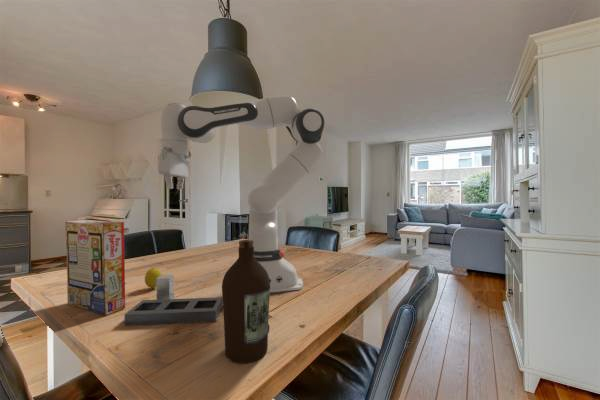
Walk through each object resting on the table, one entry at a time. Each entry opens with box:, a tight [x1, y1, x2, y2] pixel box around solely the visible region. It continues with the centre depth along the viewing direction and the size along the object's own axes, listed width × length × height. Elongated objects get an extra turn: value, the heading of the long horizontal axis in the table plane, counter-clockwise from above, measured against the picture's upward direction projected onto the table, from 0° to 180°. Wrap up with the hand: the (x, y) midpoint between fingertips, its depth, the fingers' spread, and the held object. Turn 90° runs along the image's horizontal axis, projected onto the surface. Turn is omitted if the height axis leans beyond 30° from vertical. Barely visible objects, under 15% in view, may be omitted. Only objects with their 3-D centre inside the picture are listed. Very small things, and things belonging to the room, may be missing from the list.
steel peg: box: [155, 274, 175, 300], centre depth 90 cm, size 4×4×8 cm
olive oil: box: [221, 239, 271, 364], centre depth 61 cm, size 11×11×25 cm
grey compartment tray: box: [124, 296, 223, 327], centre depth 79 cm, size 24×10×3 cm, turn 95°
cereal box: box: [65, 219, 126, 316], centre depth 85 cm, size 20×6×27 cm, turn 66°
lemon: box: [144, 267, 162, 289], centre depth 101 cm, size 6×6×8 cm
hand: (175, 189), depth 97 cm, fingers open, 8 cm apart
